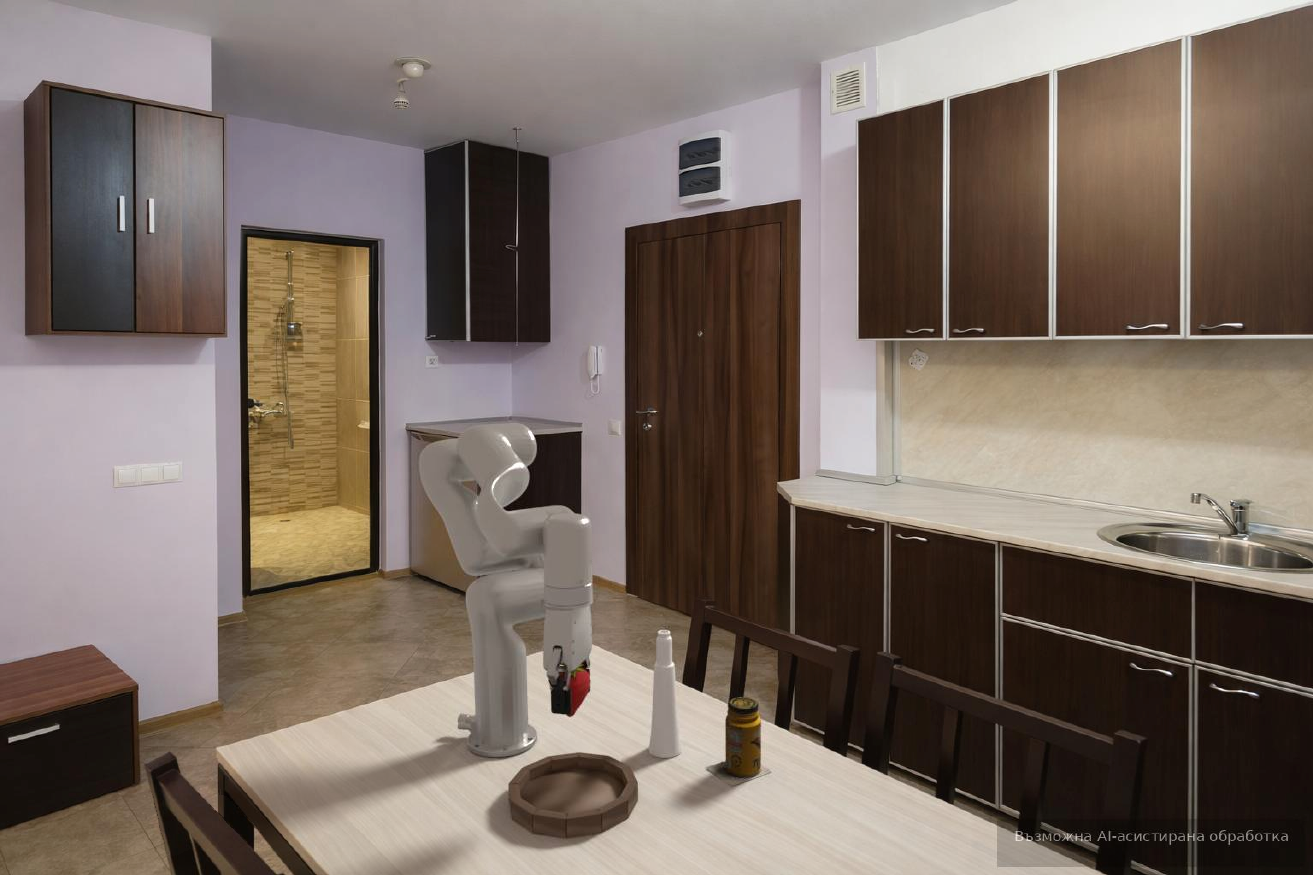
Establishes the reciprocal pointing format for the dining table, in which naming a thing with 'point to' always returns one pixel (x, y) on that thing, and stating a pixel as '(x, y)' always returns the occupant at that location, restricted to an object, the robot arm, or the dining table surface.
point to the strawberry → (577, 686)
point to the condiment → (741, 743)
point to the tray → (572, 794)
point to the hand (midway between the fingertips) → (571, 701)
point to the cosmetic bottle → (664, 702)
